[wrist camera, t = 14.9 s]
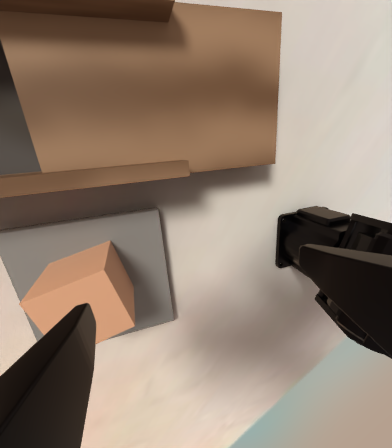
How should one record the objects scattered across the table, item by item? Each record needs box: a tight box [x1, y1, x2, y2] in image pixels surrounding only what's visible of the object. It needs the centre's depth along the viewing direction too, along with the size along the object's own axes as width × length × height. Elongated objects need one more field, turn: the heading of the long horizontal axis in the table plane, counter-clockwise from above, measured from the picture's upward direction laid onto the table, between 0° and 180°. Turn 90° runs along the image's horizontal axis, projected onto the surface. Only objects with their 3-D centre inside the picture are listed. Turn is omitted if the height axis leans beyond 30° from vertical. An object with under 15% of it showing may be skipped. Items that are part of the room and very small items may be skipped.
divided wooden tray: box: [0, 0, 282, 198], centre depth 14 cm, size 10×25×5 cm, turn 95°
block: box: [19, 240, 135, 344], centre depth 16 cm, size 5×5×5 cm
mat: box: [0, 207, 174, 342], centre depth 19 cm, size 12×12×1 cm
